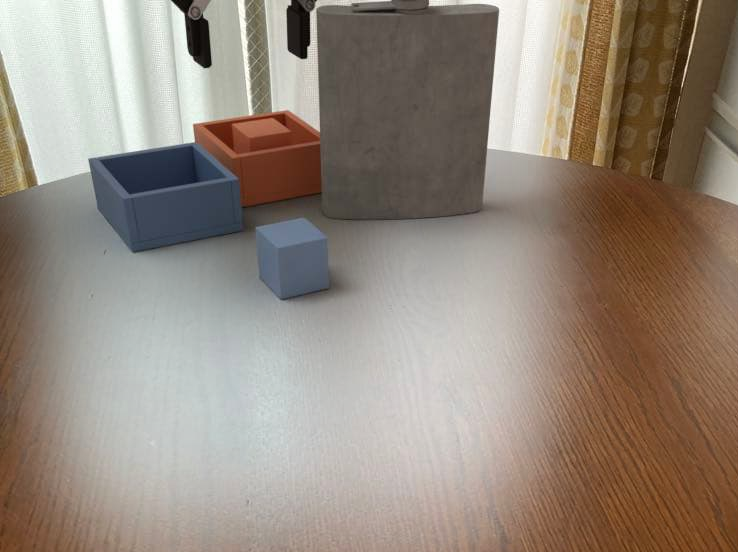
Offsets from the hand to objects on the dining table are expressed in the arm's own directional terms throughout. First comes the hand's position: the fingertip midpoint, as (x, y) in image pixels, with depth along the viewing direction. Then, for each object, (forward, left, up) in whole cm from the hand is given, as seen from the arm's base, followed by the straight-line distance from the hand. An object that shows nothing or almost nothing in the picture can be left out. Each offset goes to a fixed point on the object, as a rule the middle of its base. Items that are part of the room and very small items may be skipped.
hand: (251, 59), depth 87 cm
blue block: (-6, -22, -12) cm, 26 cm away
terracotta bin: (+1, 0, -12) cm, 12 cm away
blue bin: (-11, -5, -12) cm, 17 cm away
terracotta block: (+1, 0, -11) cm, 11 cm away
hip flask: (+10, -13, -12) cm, 20 cm away
